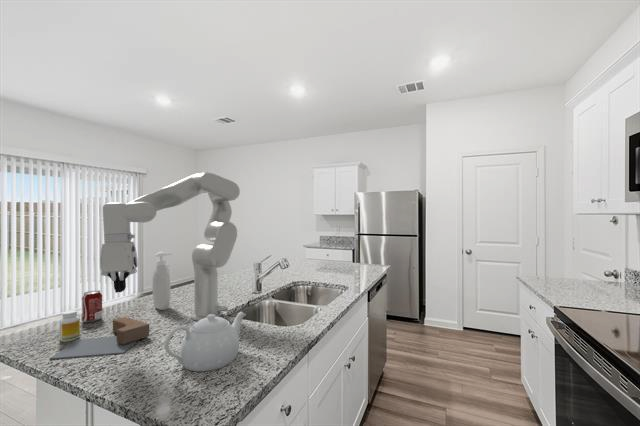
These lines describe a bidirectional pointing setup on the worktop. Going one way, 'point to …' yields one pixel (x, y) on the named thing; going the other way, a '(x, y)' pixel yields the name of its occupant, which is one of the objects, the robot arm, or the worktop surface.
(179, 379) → the worktop surface
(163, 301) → the soap bottle
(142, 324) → the wooden block
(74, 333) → the supplement bottle
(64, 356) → the rubber mat
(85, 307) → the soda can
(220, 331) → the teapot
